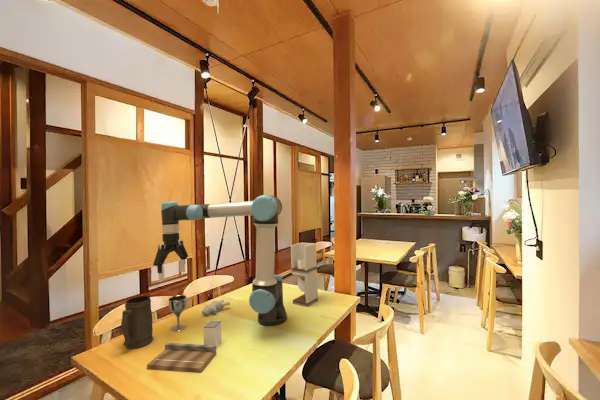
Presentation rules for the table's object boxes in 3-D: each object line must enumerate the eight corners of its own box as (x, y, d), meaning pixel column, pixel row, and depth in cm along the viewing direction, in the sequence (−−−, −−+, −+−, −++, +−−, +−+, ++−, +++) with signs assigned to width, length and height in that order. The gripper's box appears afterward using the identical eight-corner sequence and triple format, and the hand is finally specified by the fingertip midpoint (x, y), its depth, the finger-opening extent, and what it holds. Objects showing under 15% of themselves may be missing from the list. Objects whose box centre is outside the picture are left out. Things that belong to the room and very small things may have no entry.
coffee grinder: (303, 297, 170) (301, 242, 171) (317, 300, 164) (315, 243, 164) (292, 303, 161) (290, 245, 161) (307, 307, 155) (305, 246, 155)
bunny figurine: (198, 307, 150) (220, 296, 162) (199, 315, 151) (222, 304, 163) (208, 311, 145) (230, 299, 156) (209, 320, 145) (231, 307, 157)
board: (216, 353, 110) (216, 345, 110) (201, 372, 98) (200, 362, 98) (167, 351, 113) (167, 342, 113) (146, 368, 101) (146, 359, 101)
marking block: (221, 341, 120) (220, 320, 120) (215, 348, 114) (214, 327, 114) (210, 340, 121) (210, 320, 121) (204, 347, 115) (203, 326, 115)
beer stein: (134, 336, 127) (131, 295, 126) (157, 334, 128) (155, 293, 127) (114, 357, 112) (111, 310, 110) (141, 355, 113) (138, 309, 111)
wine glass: (180, 332, 130) (179, 301, 130) (166, 331, 131) (165, 300, 131) (190, 324, 137) (189, 295, 137) (176, 323, 139) (175, 294, 139)
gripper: (182, 230, 146) (184, 268, 146) (143, 236, 122) (145, 282, 122) (194, 229, 144) (195, 269, 144) (156, 236, 120) (158, 283, 120)
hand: (172, 275), depth 133 cm, fingers open, 13 cm apart
